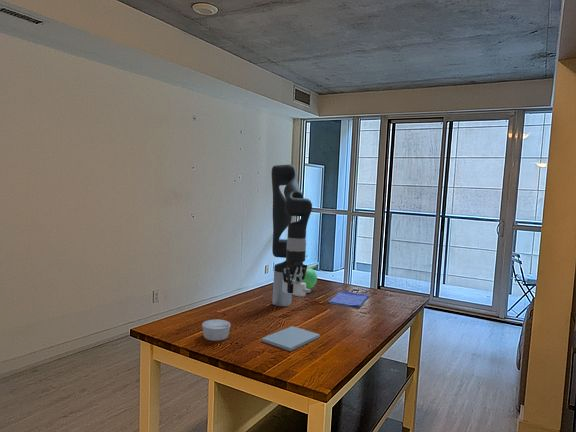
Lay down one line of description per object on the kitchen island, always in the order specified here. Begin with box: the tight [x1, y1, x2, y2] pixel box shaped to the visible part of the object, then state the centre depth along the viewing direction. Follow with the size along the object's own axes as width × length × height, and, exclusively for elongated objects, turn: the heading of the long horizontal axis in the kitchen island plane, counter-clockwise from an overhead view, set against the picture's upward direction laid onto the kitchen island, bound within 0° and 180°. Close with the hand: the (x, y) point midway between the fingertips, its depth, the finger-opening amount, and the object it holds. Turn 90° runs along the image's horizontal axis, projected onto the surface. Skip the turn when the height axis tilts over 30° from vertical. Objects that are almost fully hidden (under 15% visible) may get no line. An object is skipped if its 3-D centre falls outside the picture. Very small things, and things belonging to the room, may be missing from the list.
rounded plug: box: [282, 279, 312, 297], centre depth 167 cm, size 4×13×4 cm, turn 53°
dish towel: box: [328, 290, 369, 309], centre depth 232 cm, size 17×24×3 cm
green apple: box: [292, 264, 318, 289], centre depth 250 cm, size 18×17×15 cm
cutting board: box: [261, 325, 321, 352], centre depth 169 cm, size 20×14×1 cm
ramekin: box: [201, 318, 231, 342], centre depth 168 cm, size 11×11×5 cm
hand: (293, 291), depth 168 cm, fingers closed on rounded plug, 4 cm apart
